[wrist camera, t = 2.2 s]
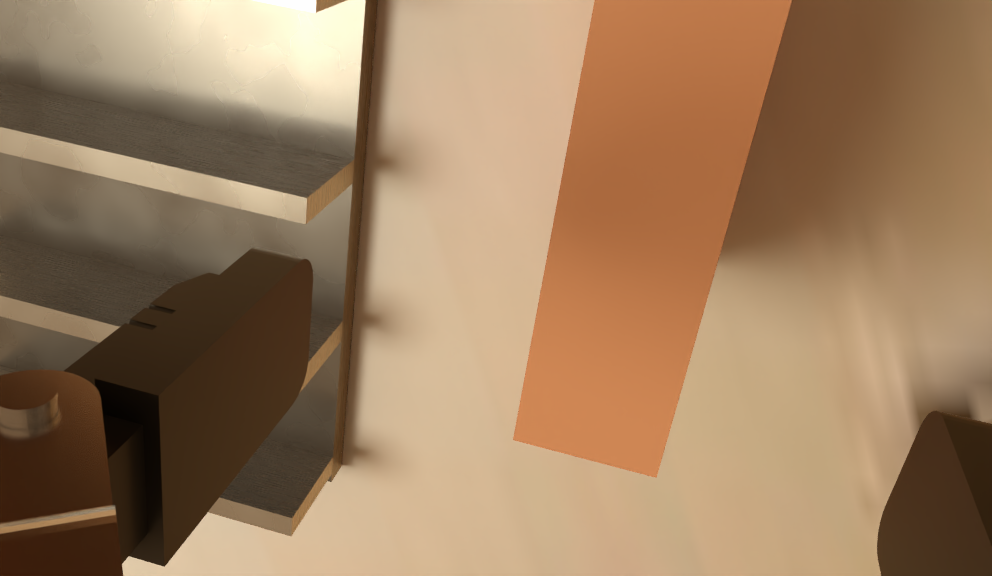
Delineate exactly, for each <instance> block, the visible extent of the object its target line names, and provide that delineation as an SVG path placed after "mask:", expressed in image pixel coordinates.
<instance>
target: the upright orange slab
mask: <svg viewBox="0 0 992 576" xmlns="http://www.w3.org/2000/svg"><path fill="white" fill-rule="evenodd" d="M791 2H792V0H595V2H594V7H593V13H592V18H591V23H590V29H589V34H588V40H587V45H586V50H585V56H584V61H583V67H582V72H581V77H580V83H579V88H578V93H577V99H576V104H575V110H574V115H573V120H572V126H571V131H570V137H569V142H568V147H567V153H566V158H565V163H564V169H563V174H562V180H561V185H560V190H559V196H558V201H557V207H556V212H555V217H554V223H553V228H552V233H551V239H550V244H549V250H548V255H547V260H546V266H545V271H544V276H543V282H542V287H541V293H540V298H539V303H538V309H537V314H536V320H535V325H534V330H533V336H532V341H531V346H530V352H529V357H528V363H527V368H526V373H525V379H524V384H523V390H522V395H521V400H520V406H519V411H518V416H517V422H516V427H515V433H514V438H513V440H515V441H519V442H523V443H527V444H531V445H534V446H538V447H542V448H546V449H550V450H553V451H557V452H561V453H565V454H569V455H572V456H576V457H580V458H584V459H588V460H591V461H595V462H599V463H603V464H607V465H610V466H614V467H618V468H622V469H626V470H629V471H633V472H637V473H641V474H645V475H648V476H652V477H657V474H658V470H659V467H660V463H661V459H662V456H663V452H664V449H665V445H666V442H667V438H668V435H669V431H670V428H671V424H672V421H673V417H674V414H675V410H676V407H677V403H678V400H679V396H680V393H681V389H682V386H683V382H684V379H685V375H686V372H687V368H688V365H689V361H690V358H691V354H692V350H693V347H694V343H695V340H696V336H697V333H698V329H699V326H700V322H701V319H702V315H703V312H704V308H705V305H706V301H707V298H708V294H709V291H710V287H711V284H712V280H713V277H714V273H715V270H716V266H717V263H718V259H719V256H720V252H721V249H722V245H723V242H724V238H725V234H726V231H727V227H728V224H729V220H730V217H731V213H732V210H733V206H734V203H735V199H736V196H737V192H738V189H739V185H740V182H741V178H742V175H743V171H744V168H745V164H746V161H747V157H748V154H749V150H750V147H751V143H752V140H753V136H754V133H755V129H756V125H757V122H758V118H759V115H760V111H761V108H762V104H763V101H764V97H765V94H766V90H767V87H768V83H769V80H770V76H771V73H772V69H773V66H774V62H775V59H776V55H777V52H778V48H779V45H780V41H781V38H782V34H783V31H784V27H785V24H786V20H787V17H788V13H789V9H790V6H791Z"/></svg>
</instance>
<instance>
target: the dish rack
mask: <svg viewBox="0 0 992 576" xmlns="http://www.w3.org/2000/svg"><path fill="white" fill-rule="evenodd" d="M376 13H377V0H0V375H4V374H8V373H13V372H18V371H25V370H57V371H64V370H65V369H67V368H68V367H69V366H71V365H72V364H73V363H74V362H76V361H77V360H78V359H80V358H81V357H82V356H83V355H85V354H86V353H87V352H89V351H90V350H91V349H92V348H94V347H95V346H96V345H98V344H99V343H100V342H101V341H103V340H104V339H105V338H107V337H108V336H109V335H110V334H112V333H113V332H114V331H116V330H117V329H118V328H119V327H121V326H122V325H123V324H125V323H126V324H129V322H130V319H131V318H132V317H134V316H135V315H136V314H137V313H139V312H140V311H141V310H143V309H144V308H149V306H150V303H152V302H153V301H154V300H155V299H157V298H158V297H159V296H161V295H162V294H163V293H164V292H166V291H167V290H168V289H170V288H171V287H172V286H173V285H176V284H178V283H181V282H184V281H187V280H189V279H192V278H195V277H198V276H200V275H203V274H206V273H213V274H217V275H220V274H221V273H222V272H223V271H224V270H226V269H227V268H228V267H229V266H230V265H232V264H233V263H234V262H235V261H237V260H238V259H239V258H240V257H241V256H243V255H244V254H245V253H246V252H247V251H249V250H250V249H252V248H254V247H258V248H262V249H267V250H271V251H275V252H279V253H283V254H288V255H292V256H296V257H300V258H304V259H308V260H309V261H310V262H311V265H312V269H313V291H312V309H311V327H310V344H309V360H308V367H307V372H306V376H305V380H304V383H303V386H302V388H301V391H300V393H299V395H298V397H297V399H296V400H295V402H294V404H293V405H292V406H291V407H290V409H289V410H288V411H287V413H286V414H285V415H284V416H283V418H282V419H281V420H280V421H279V423H278V424H277V425H276V426H275V428H274V429H273V430H272V431H271V433H270V434H269V435H268V437H267V438H266V439H265V440H264V442H263V443H262V444H261V445H260V447H259V448H258V449H257V450H256V452H255V453H254V454H253V456H252V457H251V458H250V459H249V461H248V462H247V463H246V464H245V466H244V467H243V468H242V469H241V471H240V472H239V473H238V474H237V476H236V477H235V478H234V480H233V481H232V482H231V483H230V485H229V486H228V487H227V488H226V490H225V491H224V492H223V493H222V495H221V496H220V497H219V498H218V500H217V501H216V502H215V504H214V505H213V506H212V507H211V509H210V510H209V511H208V512H209V513H213V514H216V515H220V516H223V517H227V518H230V519H233V520H237V521H240V522H244V523H247V524H251V525H254V526H258V527H261V528H264V529H268V530H271V531H275V532H278V533H282V534H285V535H289V536H292V534H293V533H294V531H295V530H296V528H297V527H298V525H299V524H300V522H301V520H302V519H303V517H304V516H305V514H306V513H307V511H308V510H309V508H310V507H311V505H312V503H313V502H314V500H315V499H316V497H317V496H318V494H319V493H320V491H321V490H322V488H323V486H324V485H325V483H326V482H327V481H330V482H332V480H333V478H334V477H335V475H336V474H337V472H338V471H339V469H340V468H341V466H342V453H343V440H344V427H345V414H346V401H347V388H348V375H349V362H350V349H351V337H352V324H353V311H354V298H355V285H356V272H357V259H358V246H359V233H360V220H361V207H362V194H363V181H364V168H365V155H366V142H367V129H368V116H369V103H370V90H371V77H372V64H373V51H374V38H375V25H376Z"/></svg>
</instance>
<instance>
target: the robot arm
mask: <svg viewBox="0 0 992 576" xmlns="http://www.w3.org/2000/svg"><path fill="white" fill-rule="evenodd" d="M312 291H313V269H312V265H311V262H310V261H309V260H308V259H304V258H300V257H296V256H292V255H288V254H283V253H279V252H275V251H271V250H267V249H262V248H258V247H254V248H252V249H250V250H249V251H247V252H246V253H245V254H244V255H243V256H241V257H240V258H239V259H238V260H237V261H235V262H234V263H233V264H232V265H230V266H229V267H228V268H227V269H226V270H224V271H223V272H222V273H221V274H220V275H217V274H213V273H206V274H203V275H200V276H198V277H195V278H192V279H189V280H187V281H184V282H181V283H178V284H176V285H173V286H172V287H171V288H170V289H168V290H167V291H166V292H164V293H163V294H162V295H161V296H159V297H158V298H157V299H155V300H154V301H153V302H152V303H150V306H149V308H144V309H143V310H141V311H140V312H139V313H137V314H136V315H135V316H134V317H132V318H131V319H130V322H129V324H126V323H125V324H123V325H122V326H121V327H119V328H118V329H117V330H116V331H114V332H113V333H112V334H110V335H109V336H108V337H107V338H105V339H104V340H103V341H101V342H100V343H99V344H98V345H96V346H95V347H94V348H92V349H91V350H90V351H89V352H87V353H86V354H85V355H83V356H82V357H81V358H80V359H78V360H77V361H76V362H74V363H73V364H72V365H71V366H69V367H68V368H67V369H65V370H64V371H57V370H25V371H18V372H13V373H8V374H4V375H0V576H123V570H122V563H123V562H124V561H125V560H126V559H127V557H128V556H131V557H134V558H137V559H141V560H144V561H147V562H151V563H154V564H158V565H161V566H164V567H165V565H166V564H167V563H168V562H169V560H170V559H171V558H172V557H173V555H174V554H175V553H176V552H177V550H178V549H179V548H180V546H181V545H182V544H183V543H184V541H185V540H186V539H187V538H188V536H189V535H190V534H191V533H192V531H193V530H194V529H195V528H196V526H197V525H198V524H199V522H200V521H201V520H202V519H203V517H204V516H205V515H206V514H207V512H208V511H209V510H210V509H211V507H212V506H213V505H214V504H215V502H216V501H217V500H218V498H219V497H220V496H221V495H222V493H223V492H224V491H225V490H226V488H227V487H228V486H229V485H230V483H231V482H232V481H233V480H234V478H235V477H236V476H237V474H238V473H239V472H240V471H241V469H242V468H243V467H244V466H245V464H246V463H247V462H248V461H249V459H250V458H251V457H252V456H253V454H254V453H255V452H256V450H257V449H258V448H259V447H260V445H261V444H262V443H263V442H264V440H265V439H266V438H267V437H268V435H269V434H270V433H271V431H272V430H273V429H274V428H275V426H276V425H277V424H278V423H279V421H280V420H281V419H282V418H283V416H284V415H285V414H286V413H287V411H288V410H289V409H290V407H291V406H292V405H293V404H294V402H295V400H296V399H297V397H298V395H299V393H300V391H301V388H302V386H303V383H304V380H305V376H306V372H307V367H308V360H309V344H310V327H311V309H312ZM877 554H878V562H879V566H880V571H881V576H992V424H990V423H986V422H981V421H977V420H973V419H969V418H965V417H960V416H956V415H952V414H948V413H944V412H940V411H933V412H931V413H930V414H928V415H927V417H926V418H925V419H924V421H923V423H922V425H921V427H920V429H919V431H918V433H917V435H916V438H915V440H914V442H913V445H912V447H911V449H910V451H909V454H908V456H907V458H906V460H905V463H904V465H903V467H902V470H901V472H900V474H899V476H898V479H897V481H896V483H895V486H894V488H893V490H892V492H891V495H890V497H889V499H888V501H887V504H886V506H885V509H884V511H883V514H882V518H881V522H880V526H879V532H878V542H877Z"/></svg>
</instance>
